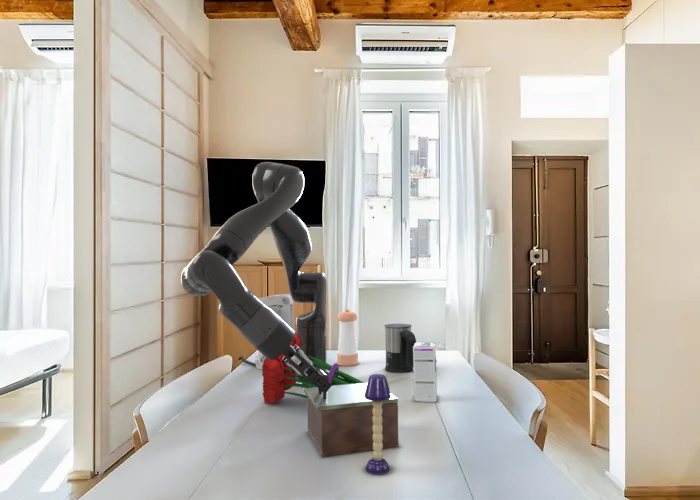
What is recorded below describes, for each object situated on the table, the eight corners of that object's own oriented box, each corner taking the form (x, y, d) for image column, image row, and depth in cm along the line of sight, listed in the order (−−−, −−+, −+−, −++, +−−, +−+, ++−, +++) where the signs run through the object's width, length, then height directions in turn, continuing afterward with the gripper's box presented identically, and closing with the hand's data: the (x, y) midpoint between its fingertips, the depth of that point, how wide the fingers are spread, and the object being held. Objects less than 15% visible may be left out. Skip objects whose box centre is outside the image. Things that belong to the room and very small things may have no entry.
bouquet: (368, 444, 114) (249, 411, 119) (376, 420, 131) (271, 392, 136) (385, 362, 114) (265, 333, 119) (391, 349, 130) (285, 323, 135)
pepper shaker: (339, 361, 177) (338, 308, 177) (359, 361, 176) (358, 308, 176) (335, 365, 169) (335, 310, 170) (356, 366, 168) (355, 310, 169)
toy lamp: (364, 463, 89) (363, 372, 90) (389, 462, 90) (388, 371, 90) (367, 475, 85) (366, 379, 85) (393, 474, 85) (392, 378, 85)
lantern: (251, 369, 165) (250, 295, 165) (260, 362, 175) (259, 293, 176) (288, 370, 163) (287, 295, 164) (295, 363, 174) (294, 293, 174)
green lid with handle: (317, 410, 92) (317, 381, 92) (303, 391, 105) (303, 366, 106) (397, 402, 97) (397, 374, 97) (375, 385, 110) (374, 360, 110)
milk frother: (379, 369, 163) (378, 324, 163) (409, 361, 174) (409, 320, 174) (411, 376, 153) (410, 329, 153) (442, 368, 163) (441, 324, 163)
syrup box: (436, 402, 126) (435, 346, 126) (413, 401, 127) (412, 345, 127) (437, 396, 131) (436, 342, 132) (415, 395, 133) (414, 341, 133)
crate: (322, 457, 93) (321, 410, 93) (307, 432, 106) (307, 391, 106) (398, 447, 97) (397, 402, 97) (375, 424, 110) (375, 385, 110)
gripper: (285, 321, 91) (345, 378, 94) (274, 313, 104) (327, 362, 107) (256, 352, 89) (318, 408, 92) (249, 339, 103) (304, 389, 106)
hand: (323, 384), depth 100 cm, fingers open, 8 cm apart
